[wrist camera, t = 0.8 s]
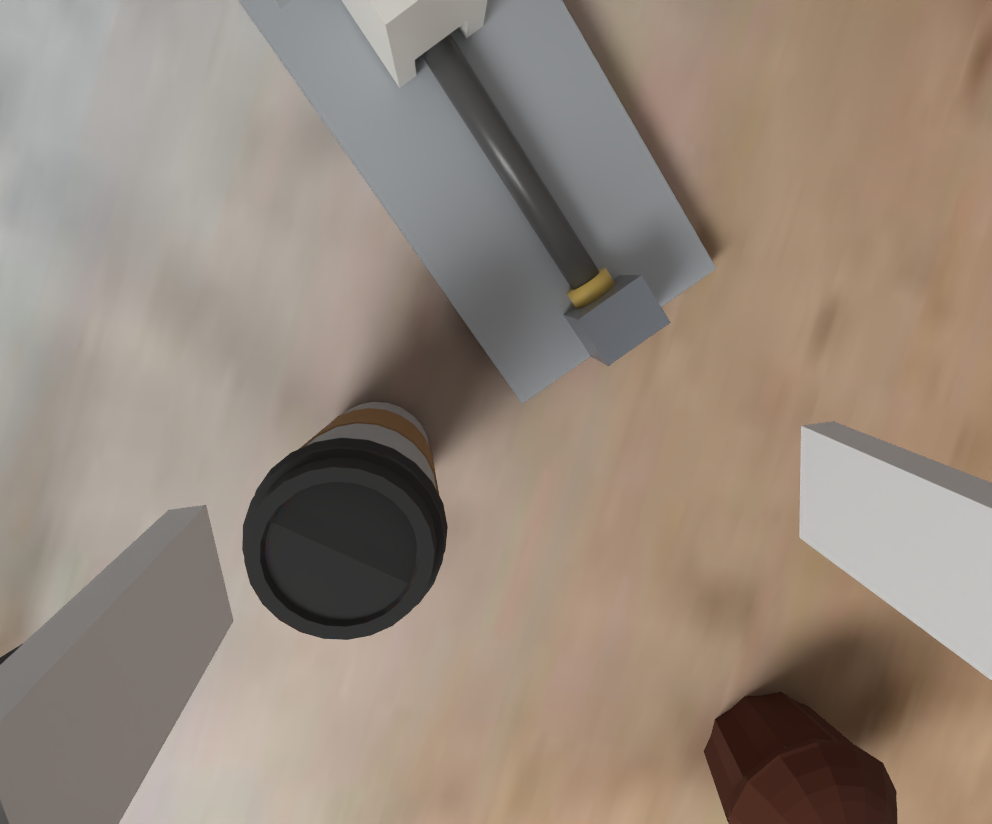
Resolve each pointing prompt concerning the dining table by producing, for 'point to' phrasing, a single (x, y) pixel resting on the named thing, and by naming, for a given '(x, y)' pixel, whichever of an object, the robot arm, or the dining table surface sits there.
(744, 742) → the muffin
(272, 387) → the dining table surface
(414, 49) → the cream rail slider block
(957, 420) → the dining table surface
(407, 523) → the coffee cup
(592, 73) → the sliding block rail
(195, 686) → the robot arm
